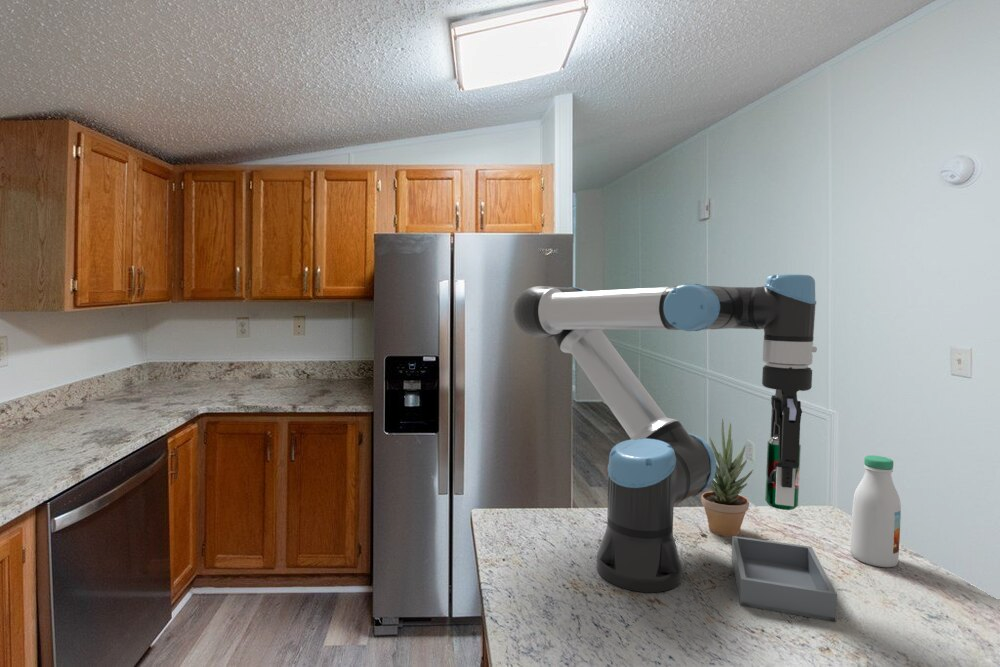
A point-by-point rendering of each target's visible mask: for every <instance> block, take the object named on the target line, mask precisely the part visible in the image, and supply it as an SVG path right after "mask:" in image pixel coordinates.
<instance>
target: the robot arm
mask: <svg viewBox="0 0 1000 667" xmlns="http://www.w3.org/2000/svg"><path fill="white" fill-rule="evenodd" d="M816 305H817V300H816V280H815V278H814V277H812V276H811V275H809V274H793V273H792V274H789V273H788V274H772V275H768V276H767V278H766V282H765V284H764V285H763V286H755V287H752V286H751V287H746V286H743V287H741V286H721V285H720V286H717V285H704V284H701V283H688V284H687V283H685V284H682V285H678V286H677V285H675V286H661V287H660V286H658V287H641V288H626V289H625V288H623V289H604V290H589V291H588V290H586V289H582V288H579V287H576V286H565V287H561V286H560V287H559V286H546V285H544V286H543V285H538V286H532V287H529V288H527V289H525V290H523V292H521V293H520V294H519V295H518V297H517V298H516V300H515V302H514V305H513V310H512V311H513V312H512V313H513V319H514V322H515V324H516V326H517V328H518V329H519V330H520V331H521V332H522V333H524V334H525V335H527V336H530V337H533V338H537V339H545V338H546V339H547V338H548V339H549V338H552V339H553V341H554V342H555V344H556V345H557V346H558V348H559V349H560V351H561V352H563V353H565V354H571V356H572V357H573V358H574V359H575V361H576V362H577V364H578V365H579V367H580V368H581V370H582V371H583V372H584V374H585V375H586V376H587V378H588V380H589V382H591V384H592V385H593V386H594V388H595V389H596V390H597V392H598V393H599V395H600V397H601V398H602V399H603V401H604V403H605V404H606V405H607V408H609V409H610V411H611V413H613V414H612V415H613V416H615V418H616V420H617V421H618V423H619V424H620V425H621V427H622V428H623V429H624V430H625V432H626V435H628V437H629V439H627V440H624V441H620V442H618V443H616V444H615V445H614V446H613V447H612V448H611V450H610V452H609V456H608V458H609V459H608V464H607V469H606V470H607V478H608V480H607V512H606V513H607V517H606V519H607V521H606V524H607V525H606V529H605V532H604V535H603V537H602V539H601V543H600V546H599V548H598V551H597V554H596V571H597V573H598V574H599V575H600V576H601V577H602V578H603V579H604V580H605V581H607V582H609V583H610V584H612V585H614V586H617V587H619V588H621V589H625V590H629V591H634V592H641V593H660V592H666V591H669V590H672V589H674V588H675V587H678V585H679V584H680V583H681V582H682V574H683V570H682V569H683V567H682V566H683V564H682V561H681V558H680V554H679V551H678V546H677V544H676V540H675V537H674V532H673V531H674V507H675V506H676V505H678V504H679V503H682V502H683V501H686V500H688V499H690V498H693V497H697V496H698V495H700V493H702V492H704V490H706V489H708V488H709V487H710V484H711V485H712V481H713V480H715V479H714V477H715V472H716V465H717V460H716V457H715V455H714V452H713V449H712V447H711V445H710V443H708V442H707V440H704V439H703V438H702V437H701V436H699V435H695V434H692V433H688V431H687V430H686V429H685V426H683V424H682V423H681V422H680V420H678V419H675V418H669V417H667V415H666V414H665V413H664V412H663V410H662V409H661V408H660V407H659V405H658V403H656V401H655V400H654V398H653V397H652V395H651V394H649V392H648V391H647V389H646V388H645V386H644V385H643V384H642V382H641V381H640V379H638V376H636V375H635V373H634V372H633V371H632V369H631V368H630V366H629V365H628V364H627V362H626V361H625V360H624V359H623V357H622V356H621V355H620V353H619V352H618V350H616V348H615V347H614V345H613V344H612V343H611V341H610V340H609V338H608V337H607V336H606V334H605V333H604V332H603V331H604V330H610V331H611V330H614V331H615V330H617V331H618V330H619V331H621V330H631V331H632V330H633V331H634V330H637V331H638V330H645V331H646V330H651V331H653V330H655V331H656V330H657V331H658V330H660V331H661V330H668V331H669V330H672V331H685V332H699V331H705V330H721V329H722V330H725V329H726V330H727V329H735V330H737V329H739V330H740V329H742V330H744V329H745V330H747V329H748V330H763V332H764V334H763V339H762V340H763V342H762V344H763V345H762V362H763V363H765V364H766V365H763V367H762V374H761V375H762V380H761V385H762V386H763V387H765V388H767V389H772V390H775V394H774V395H771V397H770V400H771V402H770V403H771V419H770V420H771V422H770V436H771V435H777V434H779V462H778V463H774V467H777V473H776V497H775V503H776V504H778V505H786V506H794V492H795V469H796V468H798V467H799V444H800V438H801V420H802V414H803V409H802V408H801V407H802V404H801V400H798V394H797V393H798V392H799V391H800V392H804V391H809V390H811V388H812V387H813V384H812V383H813V369H812V368H811V367H809V366H811V365H812V364H813V357H814V356H813V353H816V352H817V350H818V348H817V346H813V345H814V332H815V316H816Z"/></svg>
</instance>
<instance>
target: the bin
mask: <svg viewBox="0 0 1000 667" xmlns="http://www.w3.org/2000/svg"><path fill="white" fill-rule="evenodd" d="M730 558H731V562H732V568H733V569H732V570H733V573H734V579H735V585H736V589H737V595H738V600H739V604H740V606H741V607H742V606H744V607H749V608H754V609H760V610H765V611H770V612H771V611H773V612H776V613H784V614H789V615H795V616H800V617H806V618H812V619H818V620H823V621H828V622H836V618H837V617H836V616H837V596H838V595H837V592H836V590H835V588H834V586H833V585H832V583H831V581H830V579H829V576H828V575H827V573H826V571H825V569H824V567H823V566H822V564H821V561H820V559H818V556H817V554H816V552H815V550H814V549H813V547H812V546H811V545H810V546H809V545H803V544H802V545H801V544H795V543H789V542H787V543H786V542H782V541H781V542H780V541H772V540H766V539H765V540H764V539H758V538H751V537H744V536H743V537H742V536H738V535H737V536H731V556H730Z"/></svg>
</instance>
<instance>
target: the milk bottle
mask: <svg viewBox="0 0 1000 667" xmlns="http://www.w3.org/2000/svg"><path fill="white" fill-rule="evenodd" d="M863 460H864V462H863V463H864V465H863V468H864V469H865V471H864V474H863V476H862V478H861V480H860V482H859V484H858V485H857V487H856V489H855V491H854V493H853V494H854V495H853V500H852V512H851V514H852V515H851V527H850V528H851V529H850V531H851V532H850V549H849V550H850V554H851V556H853V558H855V560H858V561H860V562H862V563H864V564H868V565H869V566H874V567H881V568H894V567H896V566H897V565H898V564H899V557H900V556H899V555H900V554H899V553H900V538H901V535H900V534H901V519H902V518H901V517H902V514H901V509H902V508H901V506H902V505H901V499H900V496H899V493H898V490H897V488H896V487H895V484H894V481H893V478H892V473H893V472H894V460H893V459H891V458H888V457H886V456H880V455H866V456H865V457H864V459H863Z"/></svg>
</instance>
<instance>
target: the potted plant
mask: <svg viewBox="0 0 1000 667" xmlns="http://www.w3.org/2000/svg"><path fill="white" fill-rule="evenodd" d="M733 444H734V442H733V439H732V423H731V422H730V423H729V427H728V430H727V437H726V438H725V426H724V418H722V419H721V450H722V452H718V451H717V448H716V447H715V445H714V443H713V440H712V438H711V437H709V445H710V447H711V449H712V451H713V453H714V455H715V459H716V463H717V464H718V465H717V464H716V472H715V477H714V479H713V481H712V482H711V484H710V485H709V487H710V489H711V490H712V491H711V490H710V491H705V492H703V493H702V494H701V497H700V498H701V504H702V505H703V507H704V512H705V515H706V518H707V523H708V524H707V525H708V529H709V531H710V532H711V533H714V534H717V535H718V536H721V537H732V536H736V535H737V536H739V534H740V533H741V527H742V524H743V521H744V519H745V516H746V512H747V511H748V510H749V509H750V501H749V499H748V498H747V497H745V496H743V495H741V494H740V493H741V492H742V490H743V489H744V488H745V487H746V486H747V485H748V483H745V482H746V480H748V478H749V477H750V476H751V475H752V474H753V472H754V469H752V470H751V471H749V473H748V474H747V475H745V476H743V477H742V478H739V476H740V474H741V473H742V471H743V469H744V467H745V466H746V464H747V459H746V460H744V462H743V459H744V455H745V452H746V451H745V450H746V446H747V444H744V446H743V448H742V449H741V451H740V452H739V453H738V455H737V456H736V457H735V459H734V460H733V450H734V449H733V448H734V446H733ZM721 453H722V454H721ZM738 478H739V479H738ZM712 484H713V485H712Z"/></svg>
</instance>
